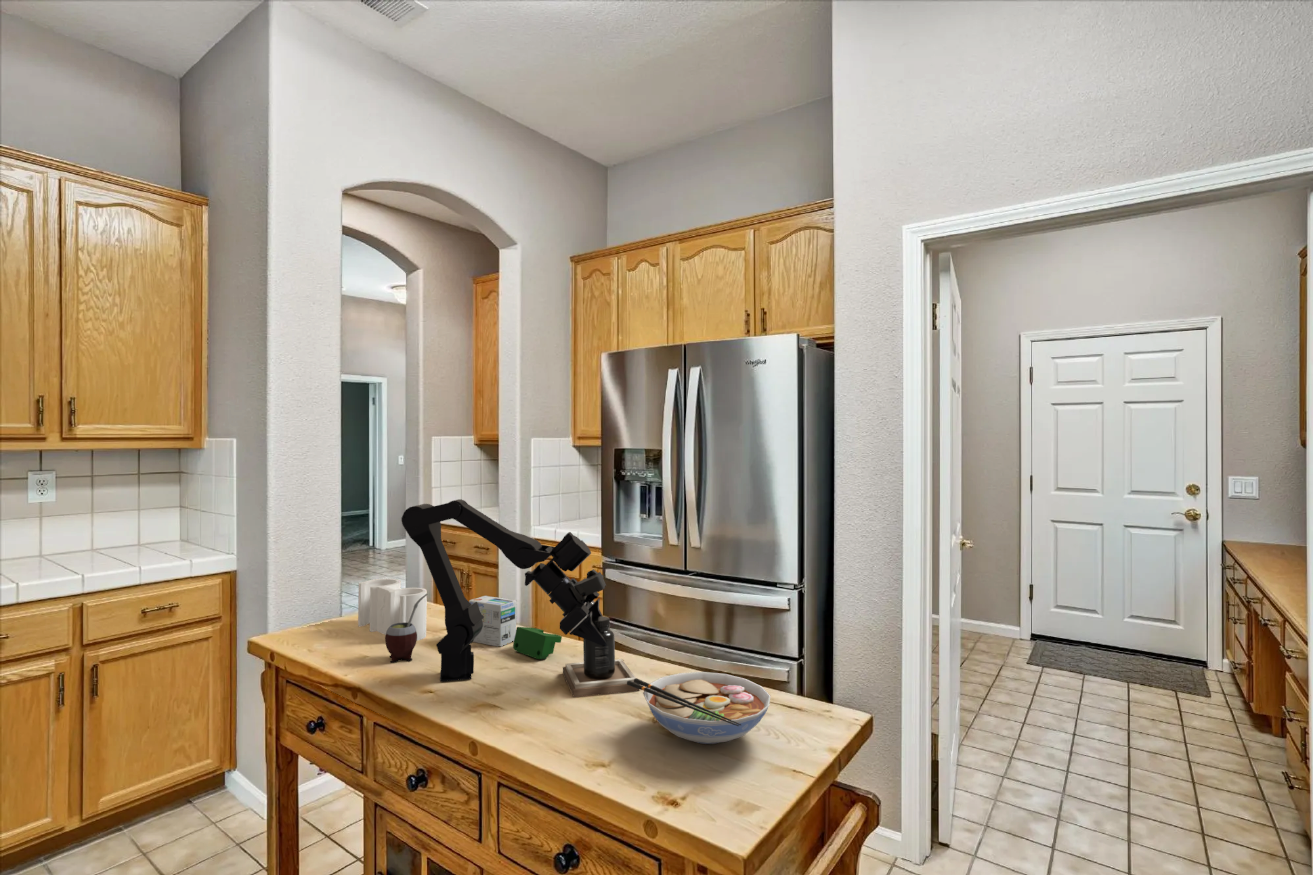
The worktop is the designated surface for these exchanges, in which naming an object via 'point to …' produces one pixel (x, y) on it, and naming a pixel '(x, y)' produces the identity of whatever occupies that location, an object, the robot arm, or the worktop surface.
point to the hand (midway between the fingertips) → (606, 638)
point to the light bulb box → (496, 620)
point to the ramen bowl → (705, 705)
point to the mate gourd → (402, 639)
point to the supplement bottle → (600, 651)
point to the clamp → (535, 642)
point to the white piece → (390, 605)
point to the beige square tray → (598, 680)
